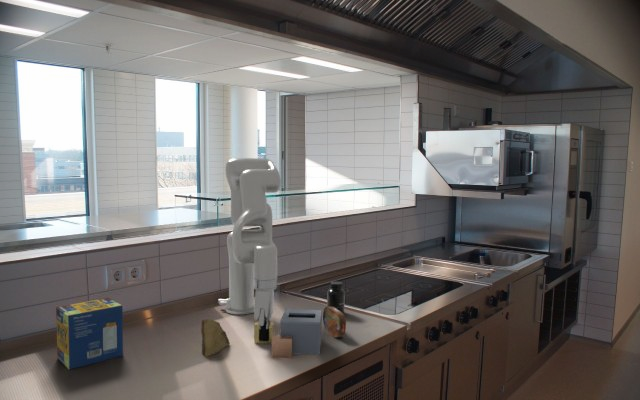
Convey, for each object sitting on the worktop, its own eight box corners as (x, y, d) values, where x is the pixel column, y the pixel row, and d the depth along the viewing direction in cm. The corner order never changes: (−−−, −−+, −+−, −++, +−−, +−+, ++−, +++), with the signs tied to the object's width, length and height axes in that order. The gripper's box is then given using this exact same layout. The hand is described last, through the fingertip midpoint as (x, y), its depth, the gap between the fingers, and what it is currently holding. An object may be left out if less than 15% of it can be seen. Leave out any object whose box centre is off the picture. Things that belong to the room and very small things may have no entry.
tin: (322, 326, 170) (322, 303, 170) (330, 325, 171) (330, 302, 171) (338, 341, 156) (338, 316, 156) (347, 340, 157) (347, 315, 157)
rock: (225, 332, 156) (195, 333, 151) (233, 316, 151) (202, 317, 146) (231, 362, 149) (200, 364, 144) (240, 346, 144) (208, 347, 139)
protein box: (56, 359, 139) (55, 306, 138) (110, 345, 150) (109, 297, 149) (68, 370, 132) (67, 315, 130) (124, 355, 142) (123, 304, 141)
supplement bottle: (343, 316, 182) (343, 285, 181) (325, 315, 183) (325, 284, 182) (345, 311, 188) (346, 281, 187) (328, 309, 190) (329, 280, 189)
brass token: (272, 343, 153) (273, 325, 152) (254, 343, 153) (254, 324, 153) (274, 340, 156) (274, 322, 155) (255, 340, 156) (255, 322, 155)
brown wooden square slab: (291, 358, 142) (291, 339, 141) (271, 358, 142) (271, 338, 142) (292, 355, 144) (292, 336, 144) (272, 354, 145) (273, 335, 144)
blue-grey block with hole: (280, 353, 146) (280, 320, 145) (285, 338, 158) (285, 309, 157) (319, 354, 145) (319, 322, 144) (321, 340, 157) (321, 310, 156)
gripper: (258, 276, 161) (257, 329, 162) (248, 289, 145) (248, 348, 147) (280, 277, 160) (279, 330, 162) (273, 290, 145) (272, 349, 146)
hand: (264, 338), depth 154 cm, fingers closed on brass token, 2 cm apart
